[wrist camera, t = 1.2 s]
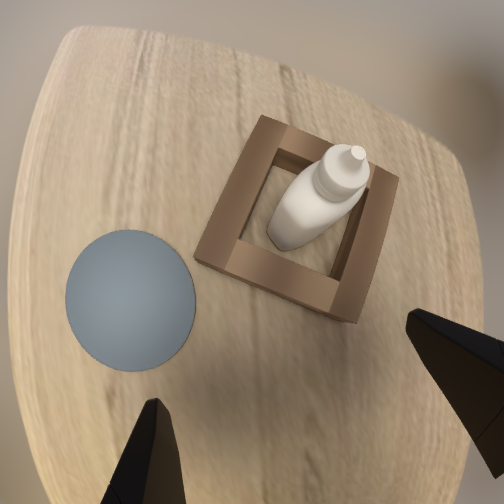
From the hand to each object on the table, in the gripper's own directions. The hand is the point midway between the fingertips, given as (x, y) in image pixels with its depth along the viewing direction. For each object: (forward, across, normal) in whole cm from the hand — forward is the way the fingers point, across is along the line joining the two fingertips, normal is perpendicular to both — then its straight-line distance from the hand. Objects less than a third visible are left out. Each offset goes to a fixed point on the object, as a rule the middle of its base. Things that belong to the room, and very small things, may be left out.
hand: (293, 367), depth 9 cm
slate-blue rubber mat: (+14, +9, +4) cm, 17 cm away
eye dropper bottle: (+15, -6, +3) cm, 16 cm away
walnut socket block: (+15, -6, +2) cm, 16 cm away
